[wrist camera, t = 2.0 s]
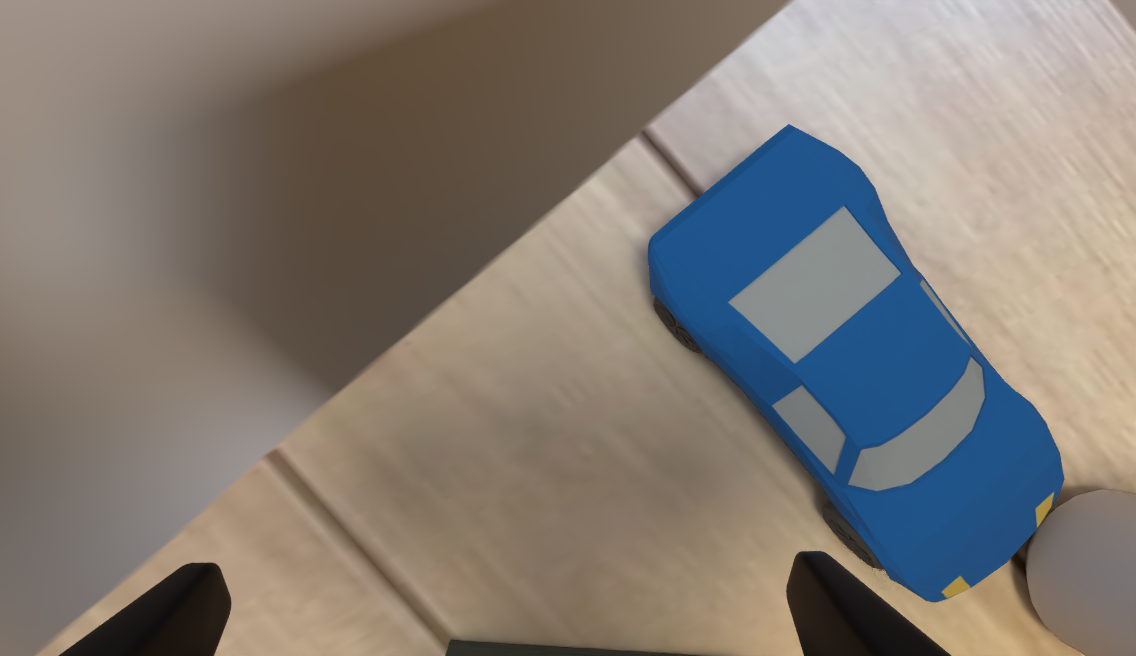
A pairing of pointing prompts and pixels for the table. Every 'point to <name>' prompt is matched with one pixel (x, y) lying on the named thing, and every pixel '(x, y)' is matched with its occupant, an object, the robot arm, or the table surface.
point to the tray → (532, 650)
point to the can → (1087, 573)
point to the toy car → (857, 366)
